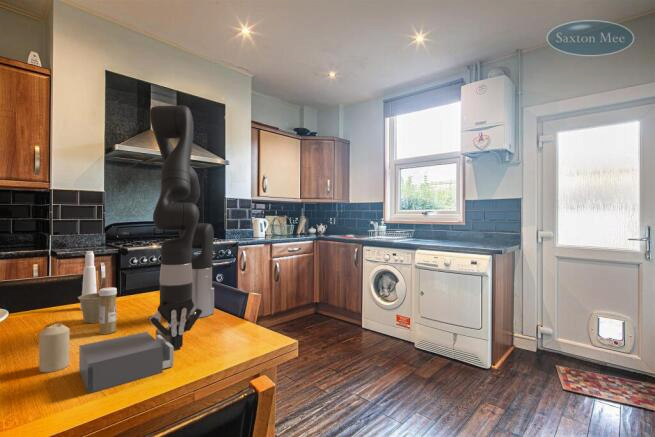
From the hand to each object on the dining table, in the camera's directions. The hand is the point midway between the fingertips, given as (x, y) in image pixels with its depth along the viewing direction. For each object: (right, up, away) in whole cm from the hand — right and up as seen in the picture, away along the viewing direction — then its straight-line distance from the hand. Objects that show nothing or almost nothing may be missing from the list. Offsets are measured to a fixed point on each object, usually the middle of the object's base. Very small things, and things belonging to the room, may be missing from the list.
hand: (175, 349), depth 85 cm
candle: (-26, -2, -6) cm, 27 cm away
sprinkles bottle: (-29, -2, +18) cm, 34 cm away
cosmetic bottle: (-54, -2, +45) cm, 70 cm away
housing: (-9, -2, -8) cm, 12 cm away
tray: (-7, -2, -6) cm, 10 cm away
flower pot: (-41, -2, +29) cm, 50 cm away
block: (-7, -2, +9) cm, 11 cm away
